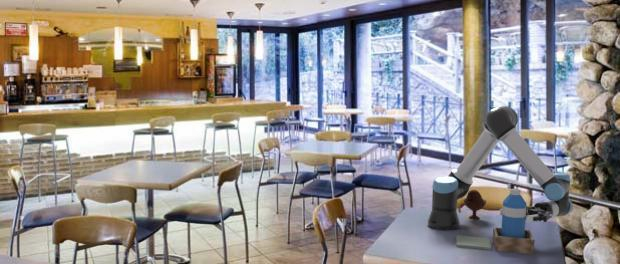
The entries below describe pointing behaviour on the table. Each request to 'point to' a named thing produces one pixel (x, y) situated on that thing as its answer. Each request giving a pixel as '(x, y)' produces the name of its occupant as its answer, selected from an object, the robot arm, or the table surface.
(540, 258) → the table surface
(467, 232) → the table surface
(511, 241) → the wooden frame
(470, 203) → the ice cream bowl
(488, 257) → the table surface
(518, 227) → the water bottle
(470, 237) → the mat
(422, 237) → the table surface
